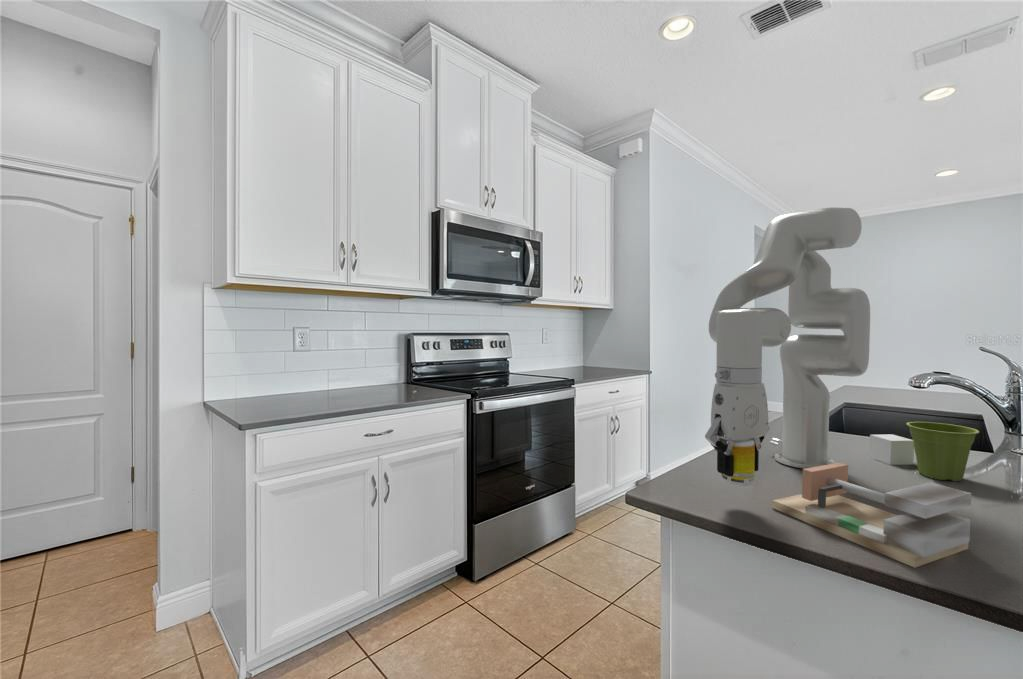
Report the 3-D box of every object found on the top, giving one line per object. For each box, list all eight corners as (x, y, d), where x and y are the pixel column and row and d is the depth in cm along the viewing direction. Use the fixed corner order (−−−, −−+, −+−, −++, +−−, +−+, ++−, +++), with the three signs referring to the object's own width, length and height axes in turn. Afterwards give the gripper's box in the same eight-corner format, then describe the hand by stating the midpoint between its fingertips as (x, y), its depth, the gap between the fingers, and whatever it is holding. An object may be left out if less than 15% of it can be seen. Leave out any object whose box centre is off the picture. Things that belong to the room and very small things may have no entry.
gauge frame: (772, 508, 84) (773, 460, 84) (821, 497, 89) (823, 452, 89) (919, 569, 63) (921, 506, 63) (972, 550, 68) (975, 492, 68)
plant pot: (974, 475, 102) (976, 426, 101) (980, 490, 93) (982, 436, 93) (904, 464, 110) (906, 418, 109) (904, 476, 101) (906, 427, 100)
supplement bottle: (761, 483, 83) (761, 429, 83) (741, 489, 81) (741, 433, 80) (734, 474, 88) (735, 422, 88) (714, 479, 86) (715, 426, 85)
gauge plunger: (798, 499, 80) (799, 469, 80) (838, 490, 84) (838, 462, 84) (895, 535, 67) (896, 500, 66) (937, 523, 71) (938, 489, 71)
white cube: (869, 457, 116) (869, 434, 115) (891, 457, 116) (892, 434, 116) (890, 465, 110) (891, 440, 109) (913, 464, 110) (914, 440, 110)
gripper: (720, 382, 77) (719, 486, 78) (789, 375, 83) (788, 470, 84) (687, 377, 84) (687, 472, 85) (754, 370, 90) (753, 459, 91)
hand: (737, 470), depth 85 cm, fingers closed on supplement bottle, 5 cm apart
